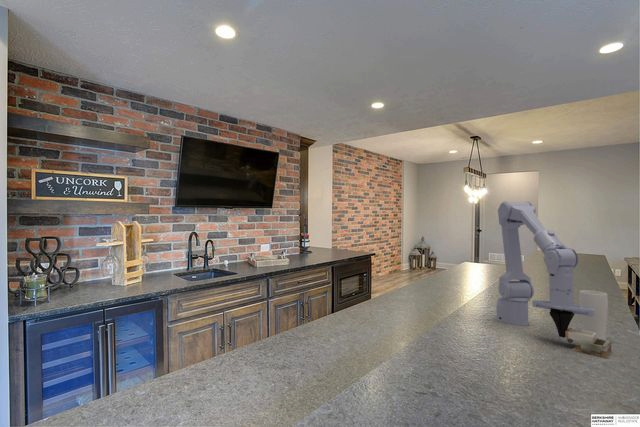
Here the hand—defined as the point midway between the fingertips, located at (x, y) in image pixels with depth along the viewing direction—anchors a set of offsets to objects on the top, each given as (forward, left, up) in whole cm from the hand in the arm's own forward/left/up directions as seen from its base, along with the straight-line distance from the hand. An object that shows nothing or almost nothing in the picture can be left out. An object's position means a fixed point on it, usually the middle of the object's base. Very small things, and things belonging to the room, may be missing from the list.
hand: (562, 336), depth 94 cm
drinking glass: (+5, +13, -3) cm, 14 cm away
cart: (+4, 0, -1) cm, 4 cm away
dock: (0, 0, -3) cm, 3 cm away
